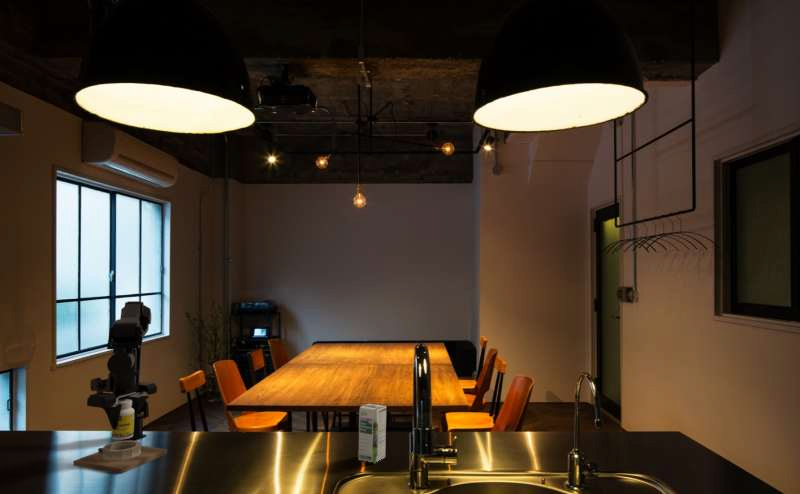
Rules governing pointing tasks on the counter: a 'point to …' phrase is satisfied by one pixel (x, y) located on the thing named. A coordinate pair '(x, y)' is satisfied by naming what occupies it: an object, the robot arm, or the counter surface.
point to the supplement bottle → (124, 421)
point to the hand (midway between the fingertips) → (122, 426)
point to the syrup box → (372, 432)
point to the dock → (119, 464)
